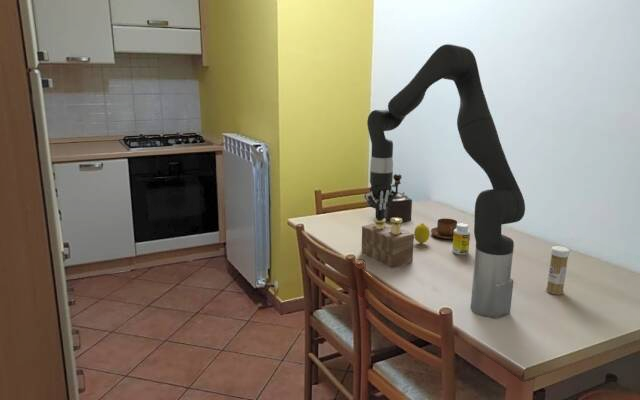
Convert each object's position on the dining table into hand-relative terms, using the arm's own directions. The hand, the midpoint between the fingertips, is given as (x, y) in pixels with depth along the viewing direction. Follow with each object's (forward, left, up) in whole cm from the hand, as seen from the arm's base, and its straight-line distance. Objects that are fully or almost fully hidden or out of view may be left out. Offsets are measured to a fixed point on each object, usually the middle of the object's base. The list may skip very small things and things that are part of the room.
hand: (379, 219), depth 168 cm
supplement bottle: (-15, -25, -13) cm, 32 cm away
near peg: (-8, 0, -8) cm, 11 cm away
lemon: (-1, -20, -13) cm, 24 cm away
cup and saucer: (0, -35, -13) cm, 37 cm away
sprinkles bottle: (-52, -22, -13) cm, 58 cm away
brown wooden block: (-4, 0, -13) cm, 13 cm away
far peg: (0, 0, -10) cm, 10 cm away
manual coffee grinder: (+31, -36, -13) cm, 49 cm away
